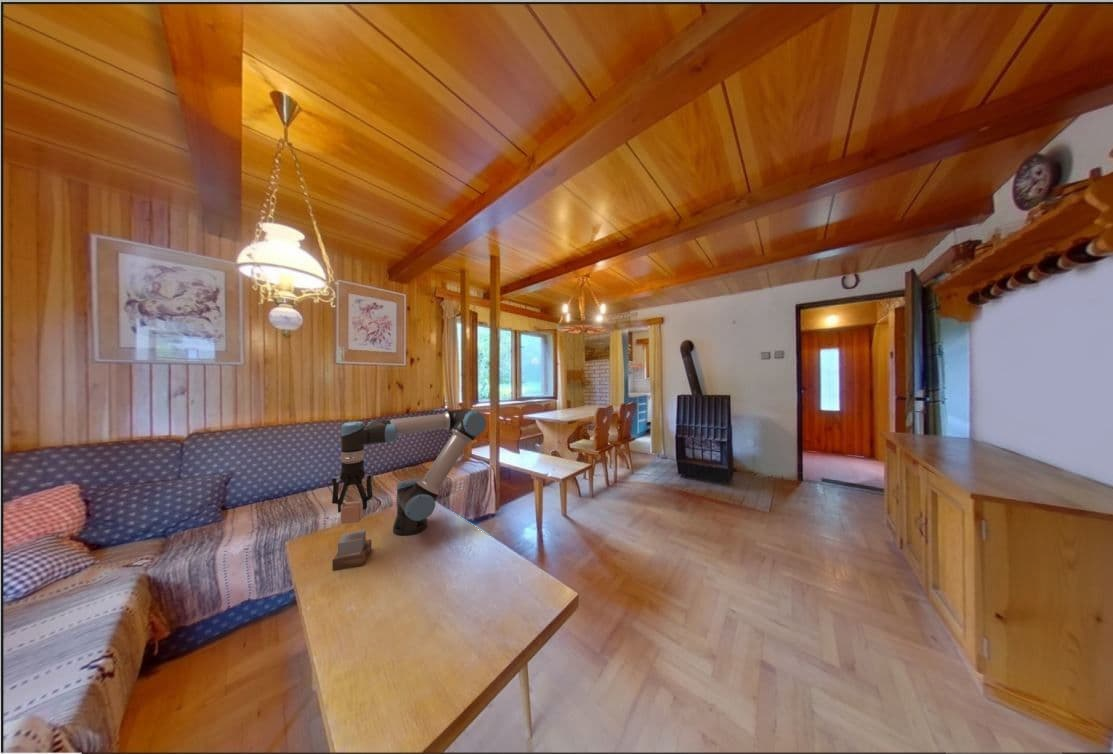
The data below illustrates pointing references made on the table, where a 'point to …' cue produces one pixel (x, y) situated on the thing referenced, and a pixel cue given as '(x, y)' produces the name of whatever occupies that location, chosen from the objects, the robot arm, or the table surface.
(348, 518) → the terracotta cube
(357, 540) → the slate block
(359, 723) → the table surface
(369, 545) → the plinth
